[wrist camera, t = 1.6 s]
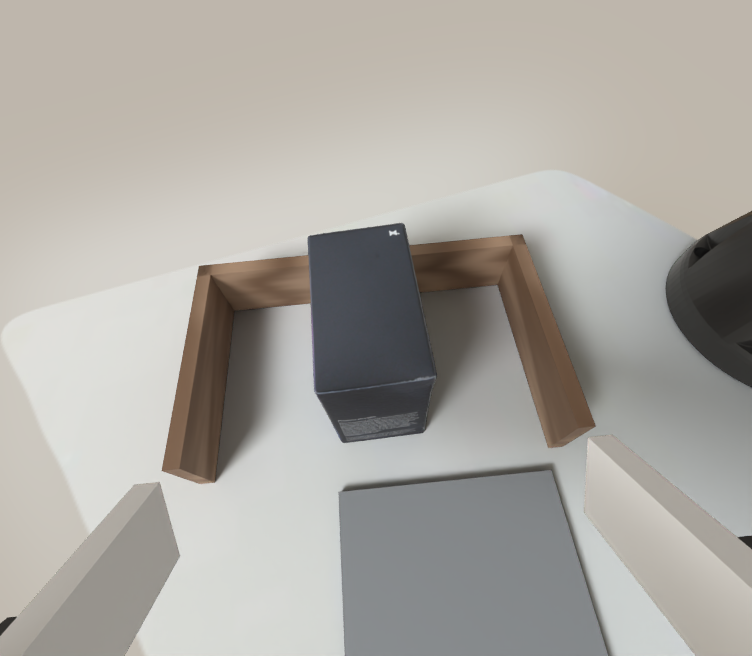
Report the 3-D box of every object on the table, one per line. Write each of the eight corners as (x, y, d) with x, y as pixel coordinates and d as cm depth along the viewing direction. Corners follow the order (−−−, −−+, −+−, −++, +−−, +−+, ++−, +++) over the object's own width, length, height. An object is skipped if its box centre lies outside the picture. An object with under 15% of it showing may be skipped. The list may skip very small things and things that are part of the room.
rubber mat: (548, 471, 26) (551, 469, 25) (622, 717, 20) (628, 721, 19) (339, 493, 25) (338, 491, 25) (349, 747, 19) (348, 752, 19)
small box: (327, 319, 32) (302, 230, 23) (404, 310, 33) (407, 217, 24) (336, 446, 27) (307, 393, 18) (427, 433, 27) (444, 376, 18)
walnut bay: (505, 274, 34) (522, 234, 30) (562, 446, 26) (595, 426, 22) (224, 302, 34) (198, 265, 29) (200, 483, 26) (161, 470, 22)
